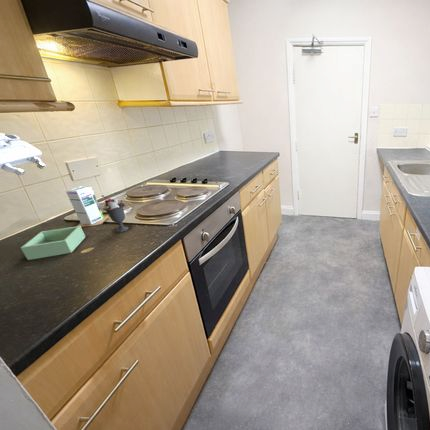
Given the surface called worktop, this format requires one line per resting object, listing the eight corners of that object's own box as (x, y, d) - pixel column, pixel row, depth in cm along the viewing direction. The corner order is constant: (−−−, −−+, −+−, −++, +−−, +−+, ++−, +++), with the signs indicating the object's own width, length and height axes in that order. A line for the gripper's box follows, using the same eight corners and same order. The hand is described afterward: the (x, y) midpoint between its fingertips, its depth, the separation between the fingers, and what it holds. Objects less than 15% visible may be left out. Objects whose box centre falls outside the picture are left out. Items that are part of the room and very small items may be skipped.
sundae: (108, 233, 101) (93, 196, 95) (125, 225, 107) (111, 190, 100) (120, 235, 99) (105, 198, 93) (137, 227, 105) (124, 192, 98)
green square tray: (28, 261, 85) (20, 247, 83) (47, 243, 94) (40, 231, 92) (71, 253, 88) (65, 240, 86) (86, 237, 98) (80, 225, 96)
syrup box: (91, 224, 107) (77, 191, 101) (80, 223, 108) (64, 190, 102) (105, 218, 112) (91, 186, 106) (93, 217, 113) (79, 185, 107)
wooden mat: (75, 228, 105) (74, 227, 105) (84, 219, 112) (84, 218, 112) (102, 224, 108) (101, 224, 107) (109, 216, 115) (109, 215, 115)
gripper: (-39, 142, 84) (11, 171, 89) (19, 134, 102) (58, 158, 107) (-47, 157, 85) (3, 184, 90) (12, 146, 103) (51, 169, 108)
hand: (33, 170), depth 99 cm, fingers open, 8 cm apart
